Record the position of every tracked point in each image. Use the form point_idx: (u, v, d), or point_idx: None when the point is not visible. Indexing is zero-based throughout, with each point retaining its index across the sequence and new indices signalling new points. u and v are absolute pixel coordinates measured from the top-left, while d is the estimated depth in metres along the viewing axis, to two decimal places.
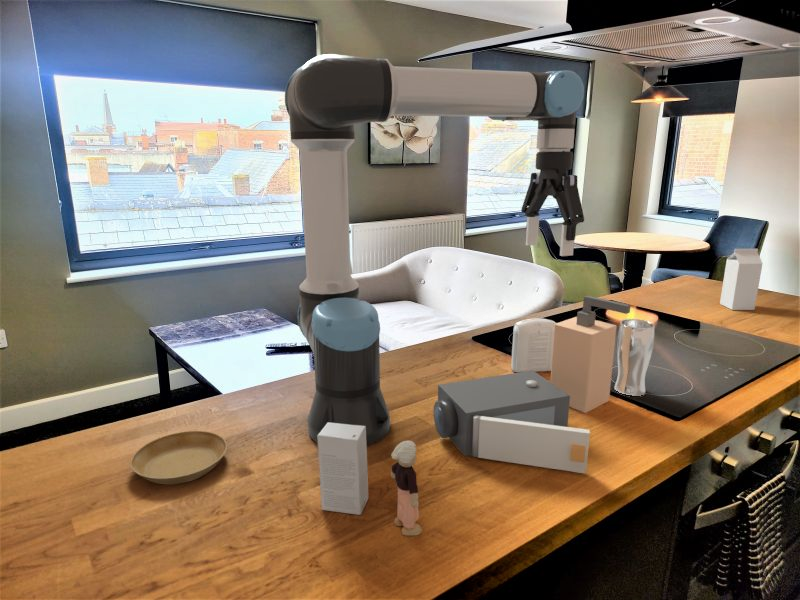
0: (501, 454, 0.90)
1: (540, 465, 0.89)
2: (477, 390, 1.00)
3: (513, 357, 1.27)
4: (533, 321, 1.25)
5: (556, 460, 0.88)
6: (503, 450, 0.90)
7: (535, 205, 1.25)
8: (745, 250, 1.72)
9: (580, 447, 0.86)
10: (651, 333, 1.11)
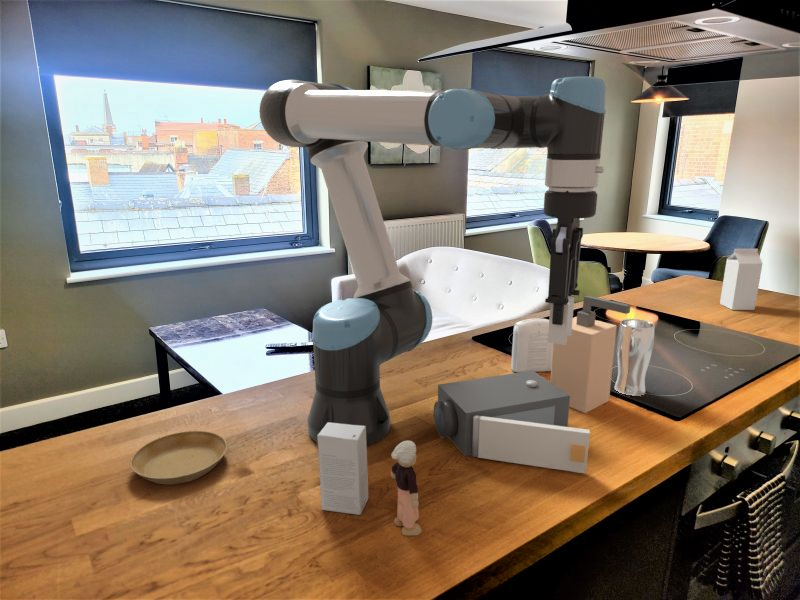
0: (501, 454, 0.90)
1: (540, 465, 0.89)
2: (477, 390, 1.00)
3: (513, 357, 1.27)
4: (533, 321, 1.25)
5: (556, 460, 0.88)
6: (503, 450, 0.90)
7: None
8: (745, 250, 1.72)
9: (580, 447, 0.86)
10: (651, 333, 1.11)
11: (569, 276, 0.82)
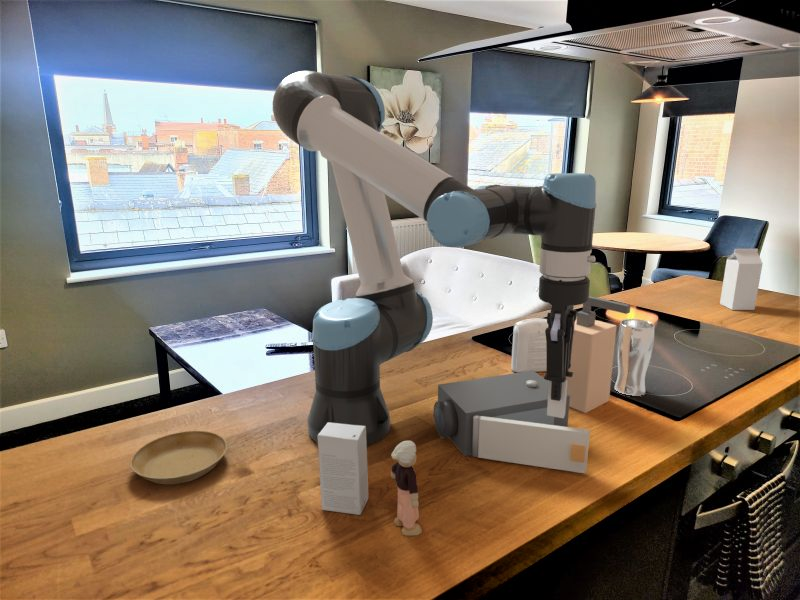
0: (501, 454, 0.90)
1: (540, 465, 0.89)
2: (477, 390, 1.00)
3: (513, 357, 1.27)
4: (533, 321, 1.25)
5: (556, 460, 0.88)
6: (503, 450, 0.90)
7: None
8: (745, 250, 1.72)
9: (580, 447, 0.86)
10: (651, 333, 1.11)
11: (565, 357, 0.87)
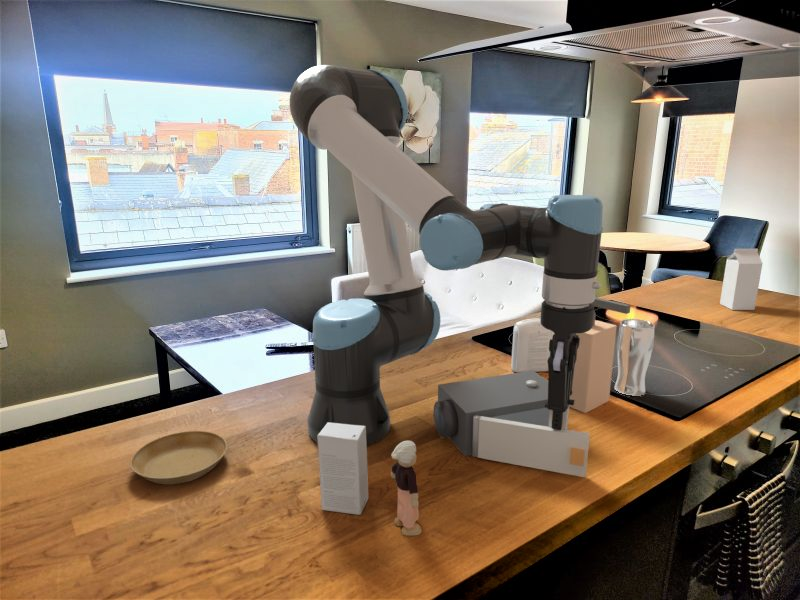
0: (501, 455, 0.90)
1: (539, 467, 0.88)
2: (477, 390, 1.00)
3: (513, 357, 1.27)
4: (533, 321, 1.25)
5: (556, 463, 0.87)
6: (503, 450, 0.90)
7: None
8: (745, 250, 1.72)
9: (579, 450, 0.85)
10: (651, 333, 1.11)
11: (567, 386, 0.84)
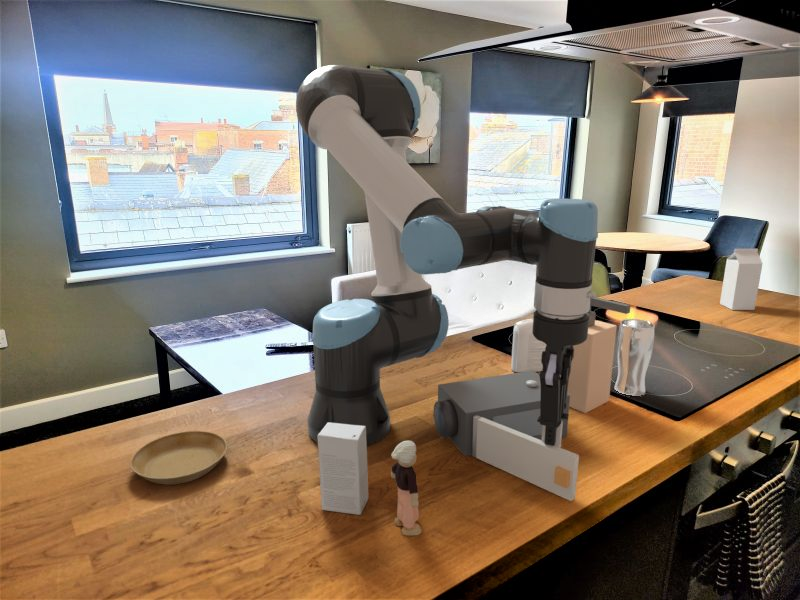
0: (495, 459, 0.89)
1: (529, 480, 0.85)
2: (477, 390, 1.00)
3: (513, 357, 1.27)
4: None
5: (544, 479, 0.83)
6: (497, 455, 0.88)
7: None
8: (745, 250, 1.72)
9: (563, 471, 0.80)
10: (651, 333, 1.11)
11: (561, 400, 0.79)
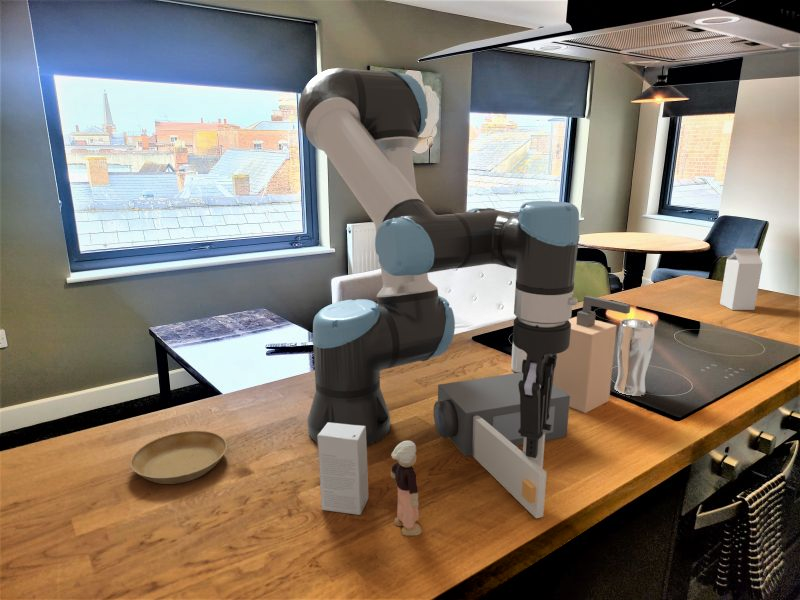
0: (486, 462, 0.88)
1: (508, 489, 0.83)
2: (477, 390, 1.00)
3: (513, 357, 1.27)
4: None
5: (517, 490, 0.80)
6: (487, 458, 0.88)
7: None
8: (745, 250, 1.72)
9: (529, 484, 0.76)
10: (651, 333, 1.11)
11: (542, 411, 0.76)
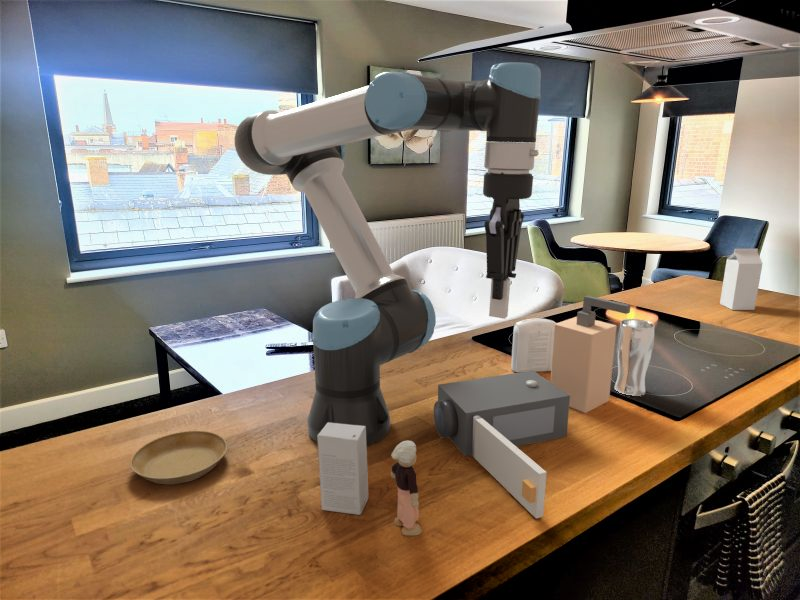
0: (486, 462, 0.88)
1: (508, 489, 0.83)
2: (477, 390, 1.00)
3: (513, 357, 1.27)
4: (533, 321, 1.25)
5: (517, 490, 0.80)
6: (487, 458, 0.88)
7: None
8: (745, 250, 1.72)
9: (529, 484, 0.76)
10: (651, 333, 1.11)
11: (506, 254, 0.87)
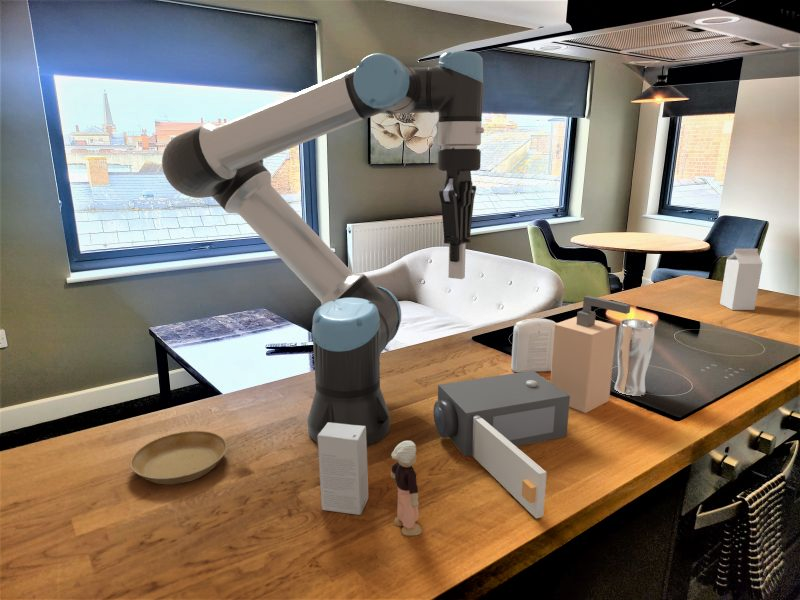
0: (486, 462, 0.88)
1: (508, 489, 0.83)
2: (477, 390, 1.00)
3: (513, 357, 1.27)
4: (533, 321, 1.25)
5: (517, 490, 0.80)
6: (487, 458, 0.88)
7: None
8: (745, 250, 1.72)
9: (529, 484, 0.76)
10: (651, 333, 1.11)
11: (460, 221, 0.99)
